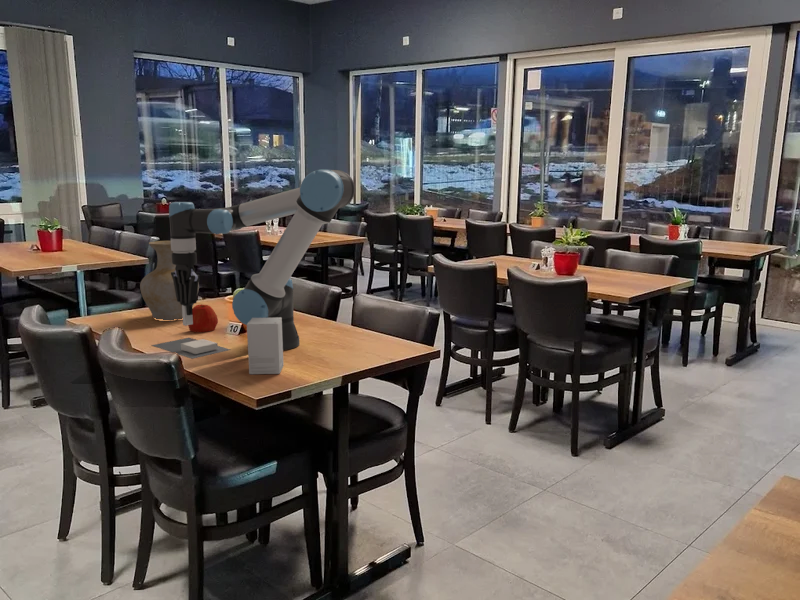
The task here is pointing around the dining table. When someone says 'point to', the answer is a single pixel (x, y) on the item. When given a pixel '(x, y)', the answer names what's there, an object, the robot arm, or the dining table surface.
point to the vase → (162, 285)
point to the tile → (199, 346)
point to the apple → (203, 319)
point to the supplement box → (265, 345)
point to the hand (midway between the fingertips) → (188, 324)
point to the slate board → (176, 347)
